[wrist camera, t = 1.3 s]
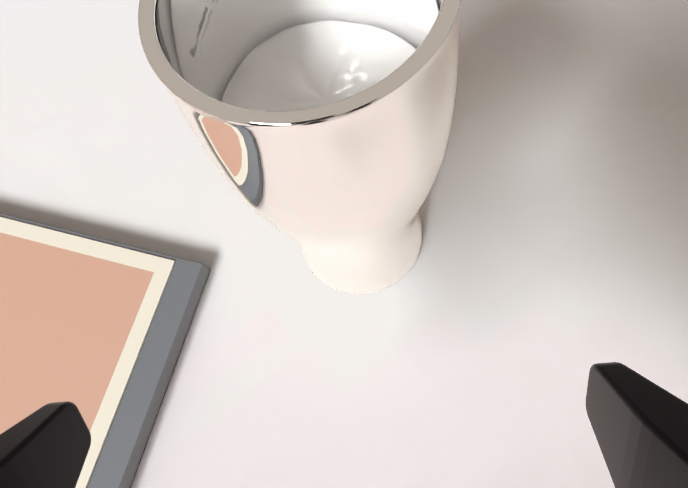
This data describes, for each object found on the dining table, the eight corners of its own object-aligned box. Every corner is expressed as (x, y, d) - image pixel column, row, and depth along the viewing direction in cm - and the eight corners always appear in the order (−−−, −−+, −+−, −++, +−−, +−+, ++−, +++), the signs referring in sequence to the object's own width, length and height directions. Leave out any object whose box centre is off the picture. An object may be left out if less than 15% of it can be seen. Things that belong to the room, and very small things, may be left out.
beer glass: (379, 333, 22) (334, 206, 7) (265, 254, 24) (58, 36, 9) (457, 216, 23) (545, -79, 9) (344, 151, 25) (266, -176, 11)
